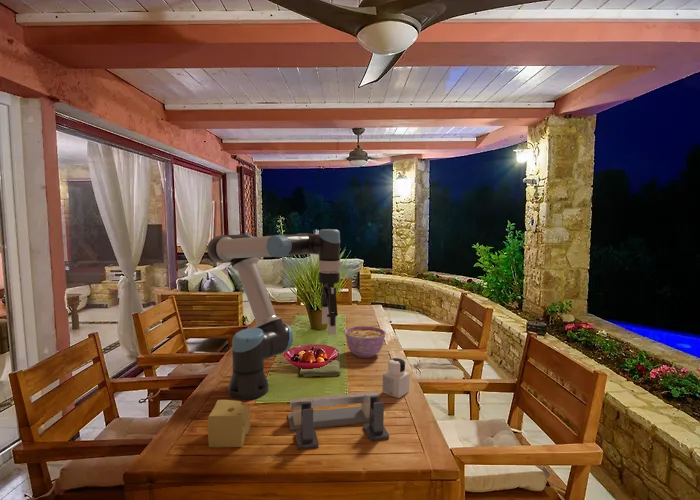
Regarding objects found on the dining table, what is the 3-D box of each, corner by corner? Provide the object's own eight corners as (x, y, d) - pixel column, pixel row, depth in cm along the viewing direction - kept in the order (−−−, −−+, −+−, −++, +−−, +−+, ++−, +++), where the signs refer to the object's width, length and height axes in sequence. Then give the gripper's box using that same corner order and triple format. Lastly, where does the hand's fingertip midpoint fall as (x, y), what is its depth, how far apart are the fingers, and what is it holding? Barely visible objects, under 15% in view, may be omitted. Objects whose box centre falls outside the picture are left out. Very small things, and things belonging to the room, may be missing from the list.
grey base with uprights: (290, 430, 125) (290, 415, 125) (287, 415, 135) (287, 401, 135) (383, 420, 132) (383, 406, 132) (374, 406, 142) (374, 393, 142)
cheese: (250, 429, 126) (250, 399, 125) (242, 449, 115) (242, 416, 115) (217, 429, 126) (217, 399, 125) (206, 449, 115) (205, 416, 114)
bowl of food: (390, 351, 199) (391, 329, 198) (376, 365, 181) (377, 340, 180) (354, 345, 208) (354, 324, 207) (337, 357, 190) (337, 334, 189)
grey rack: (298, 449, 116) (298, 413, 115) (295, 434, 123) (295, 400, 122) (389, 438, 122) (390, 404, 121) (381, 425, 130) (382, 393, 129)
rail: (290, 409, 129) (290, 402, 129) (290, 406, 131) (290, 399, 131) (378, 401, 136) (378, 394, 135) (376, 398, 138) (376, 391, 138)
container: (392, 386, 159) (393, 355, 158) (409, 391, 155) (410, 359, 153) (381, 392, 153) (382, 360, 152) (398, 398, 149) (399, 365, 147)
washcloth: (301, 366, 179) (301, 359, 179) (339, 366, 181) (339, 359, 180) (299, 378, 166) (299, 370, 166) (341, 377, 168) (341, 370, 167)
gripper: (346, 277, 132) (345, 338, 134) (332, 266, 156) (332, 319, 158) (324, 277, 130) (324, 339, 132) (314, 267, 155) (313, 320, 157)
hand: (328, 328), depth 145 cm, fingers open, 13 cm apart
